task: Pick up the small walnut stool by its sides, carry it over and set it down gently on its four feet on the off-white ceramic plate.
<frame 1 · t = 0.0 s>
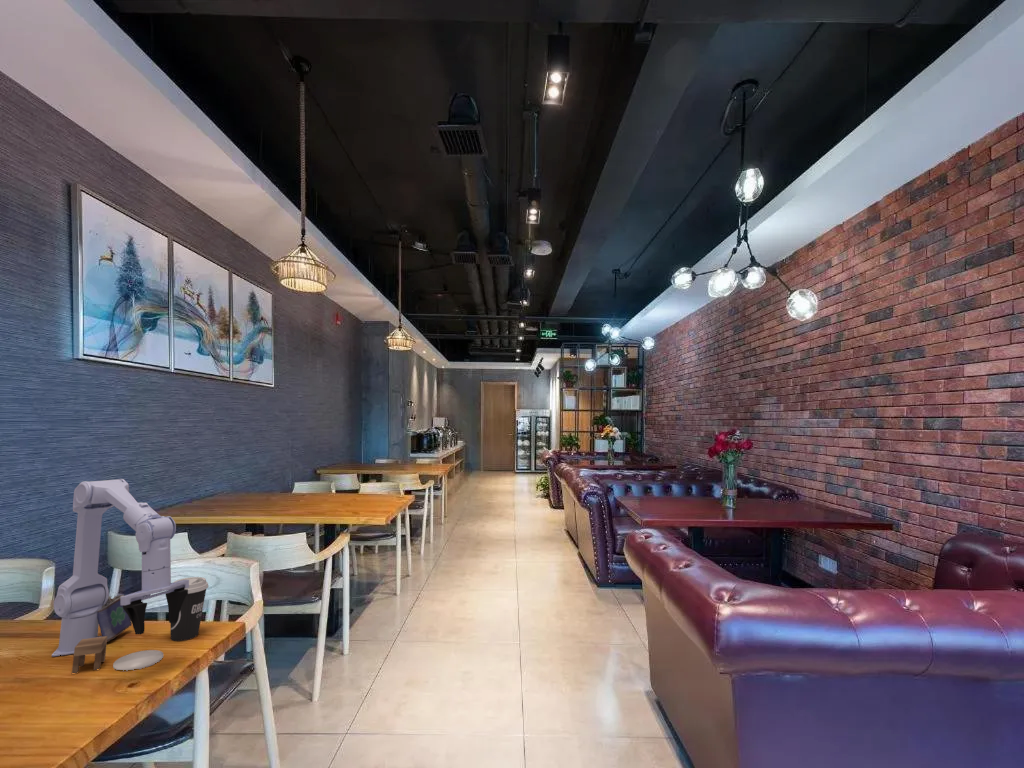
hand: (157, 627, 116), 11 cm above the table, tool pointing down, fingers open, 7 cm apart
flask: (117, 634, 135), point 1 cm above the table, touching arm
coffee cup: (184, 637, 136), on the table
stool: (88, 667, 118), on the table
plate: (138, 661, 121), on the table
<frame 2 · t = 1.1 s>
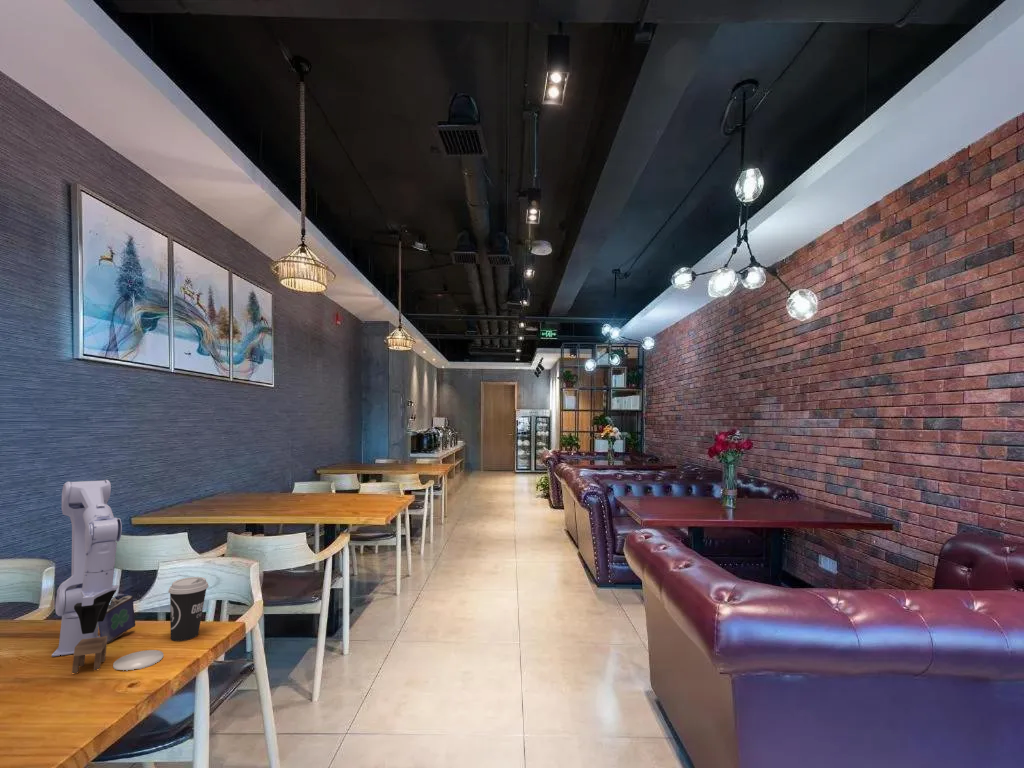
hand: (93, 627, 119), 9 cm above the table, tool pointing down, fingers open, 7 cm apart
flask: (118, 634, 135), point 1 cm above the table, touching arm
everything else where it was.
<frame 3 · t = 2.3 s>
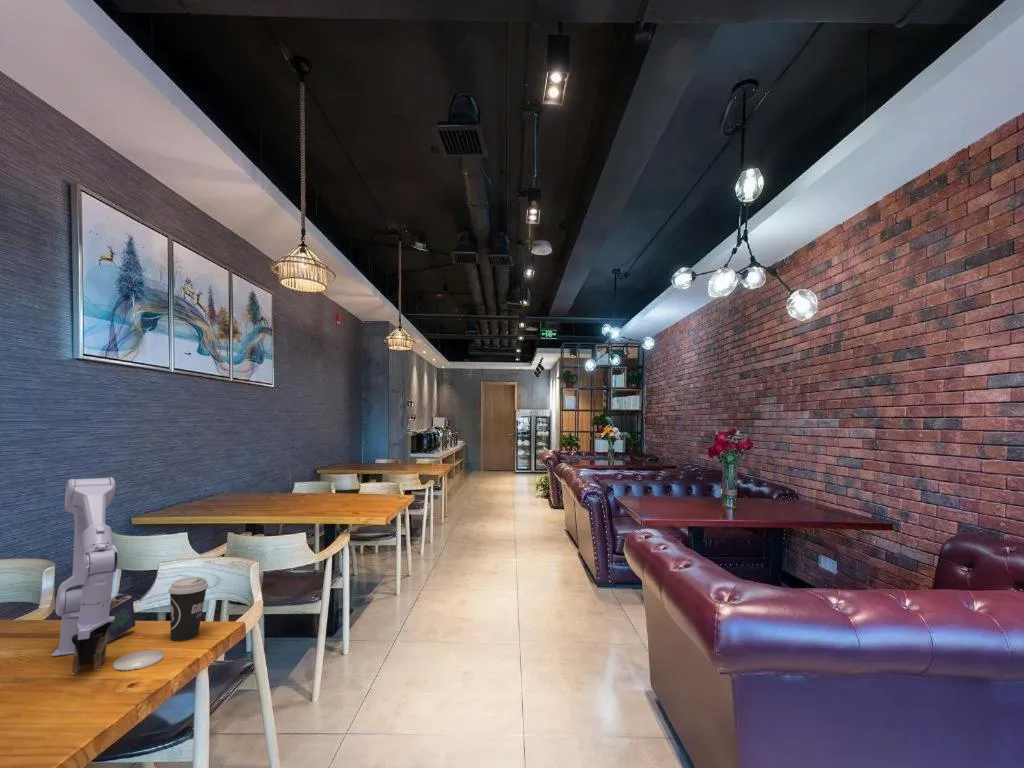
hand: (89, 659, 118), 2 cm above the table, tool pointing down, fingers closed on stool, 5 cm apart
stool: (88, 667, 118), on the table, touching gripper
everything else where it was.
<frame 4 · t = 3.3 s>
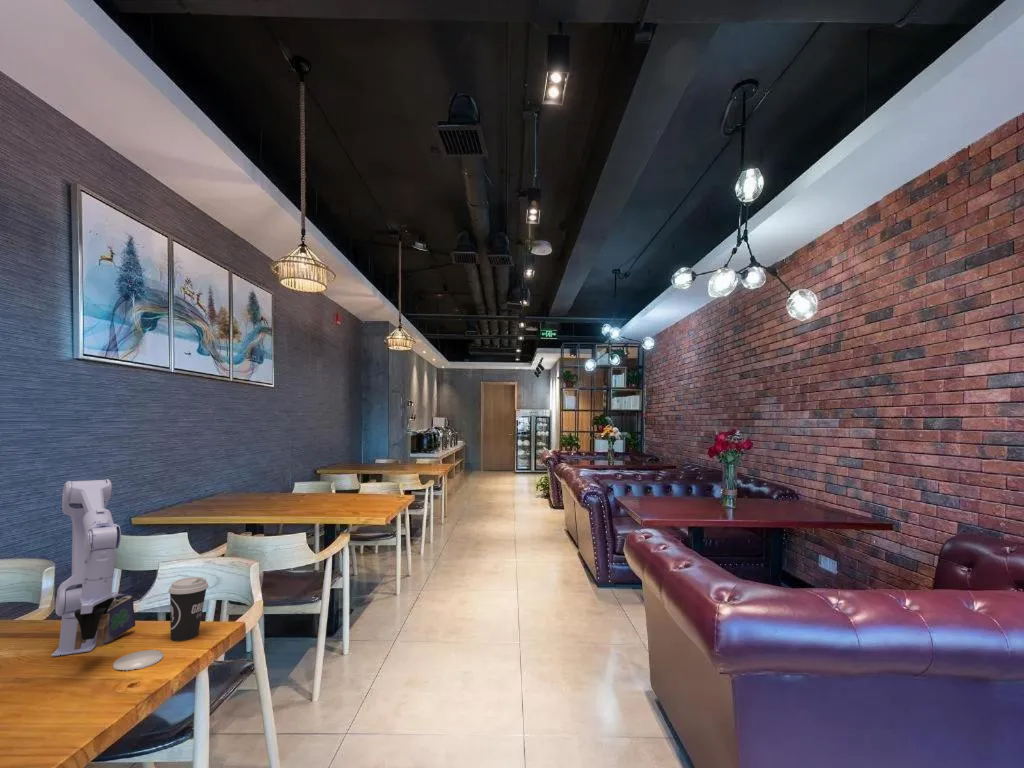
hand: (92, 634, 119), 8 cm above the table, tool pointing down, fingers closed on stool, 5 cm apart
stool: (90, 644, 118), point 5 cm above the table, touching gripper
everything else where it was.
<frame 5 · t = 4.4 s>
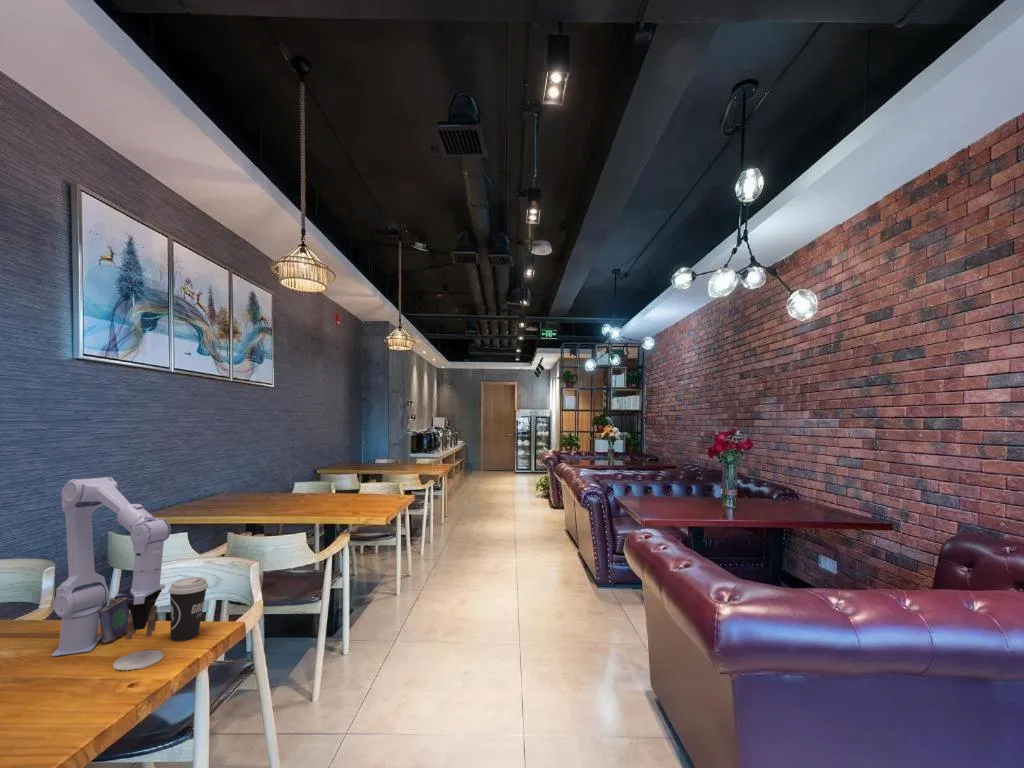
hand: (142, 625, 122), 9 cm above the table, tool pointing down, fingers closed on stool, 5 cm apart
stool: (140, 634, 122), point 6 cm above the table, touching gripper
when the fingers open (3 cm above the table, at t = 5.8 s): stool stays where it is, resting on plate.
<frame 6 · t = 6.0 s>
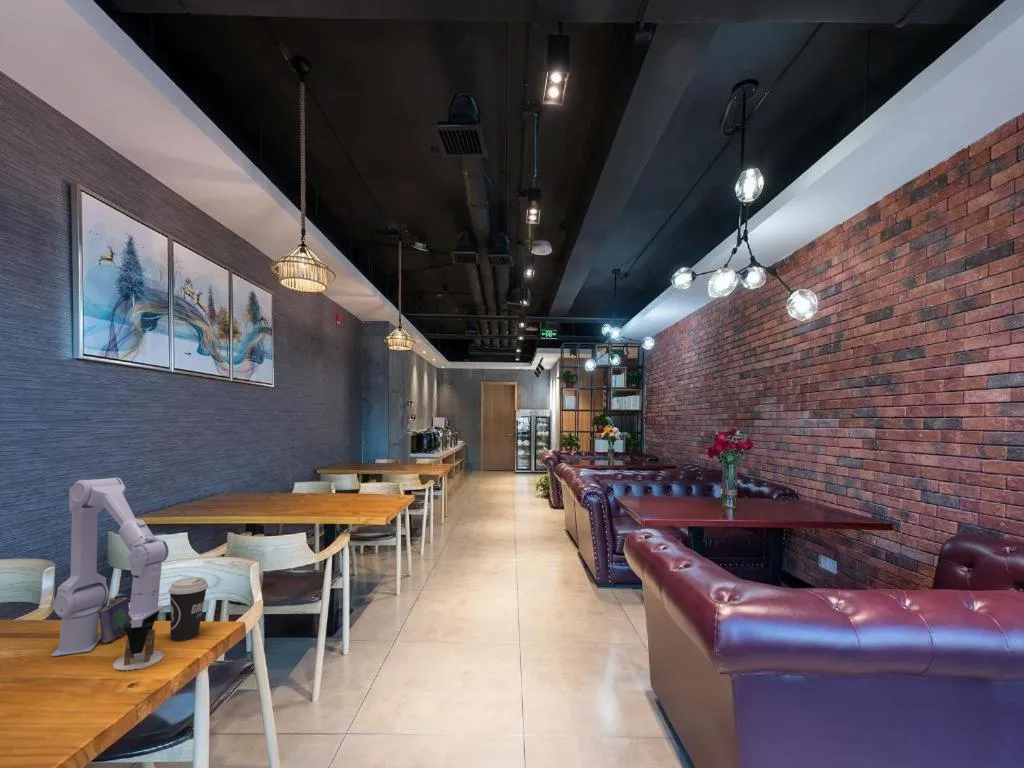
hand: (140, 647, 122), 3 cm above the table, tool pointing down, fingers open, 7 cm apart
stool: (138, 659, 121), point 1 cm above the table, touching plate
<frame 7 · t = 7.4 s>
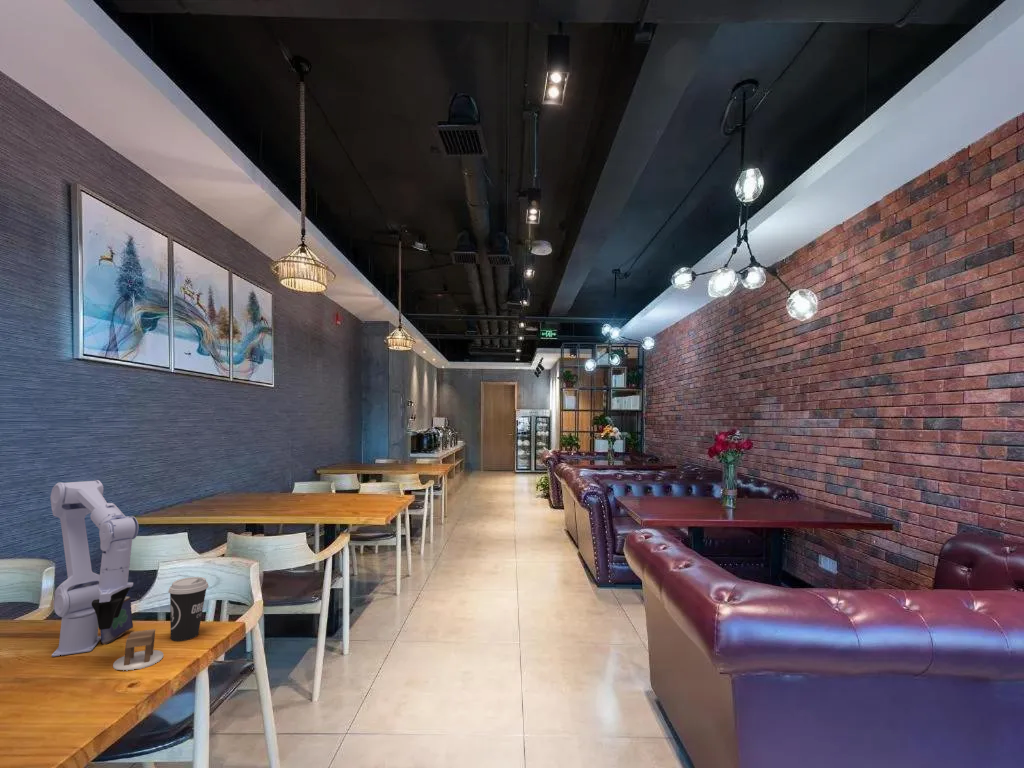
hand: (109, 623, 122), 9 cm above the table, tool pointing down, fingers open, 7 cm apart
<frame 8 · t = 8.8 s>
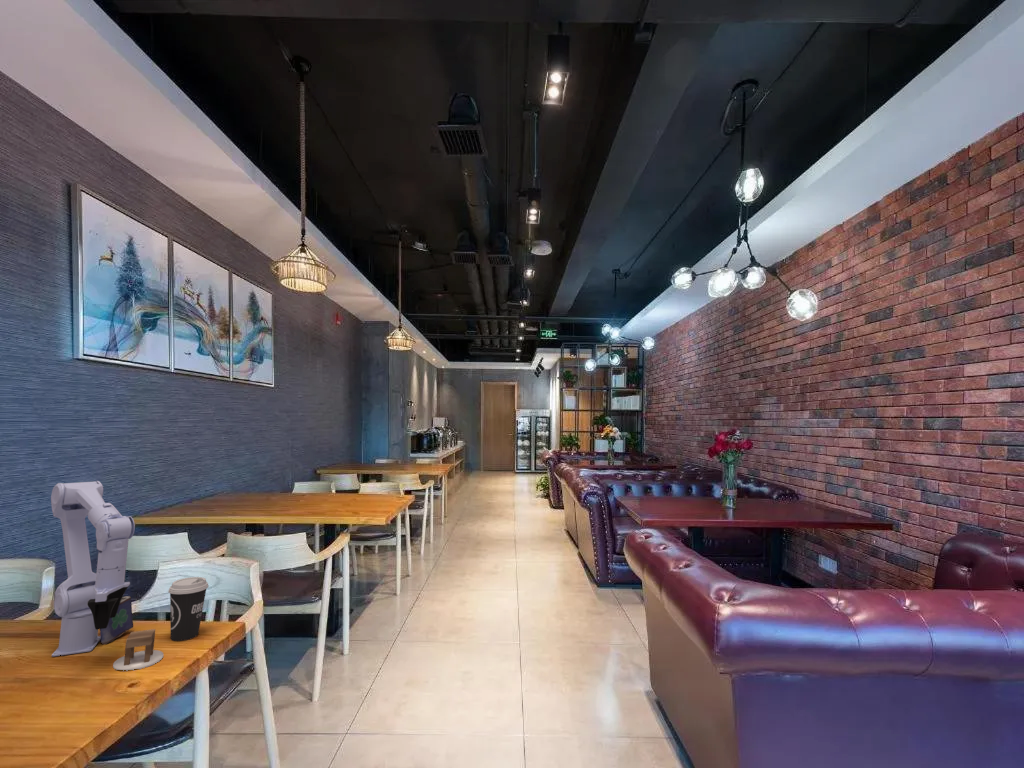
hand: (105, 622, 121), 9 cm above the table, tool pointing down, fingers open, 7 cm apart
nothing on the table moved.
at the end: stool inside the target area on the plate (0.2 cm from its centre), point 0.6 cm above the plate's base; stool tilted 0°; the gripper is holding nothing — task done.
